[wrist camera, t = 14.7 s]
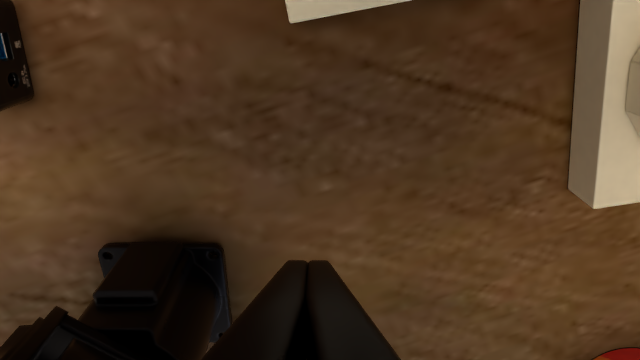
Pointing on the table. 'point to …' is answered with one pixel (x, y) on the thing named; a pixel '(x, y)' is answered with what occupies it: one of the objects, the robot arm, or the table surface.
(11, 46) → the multiport hub
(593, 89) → the button block
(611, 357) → the paper cup
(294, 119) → the table surface
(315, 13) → the dial panel
